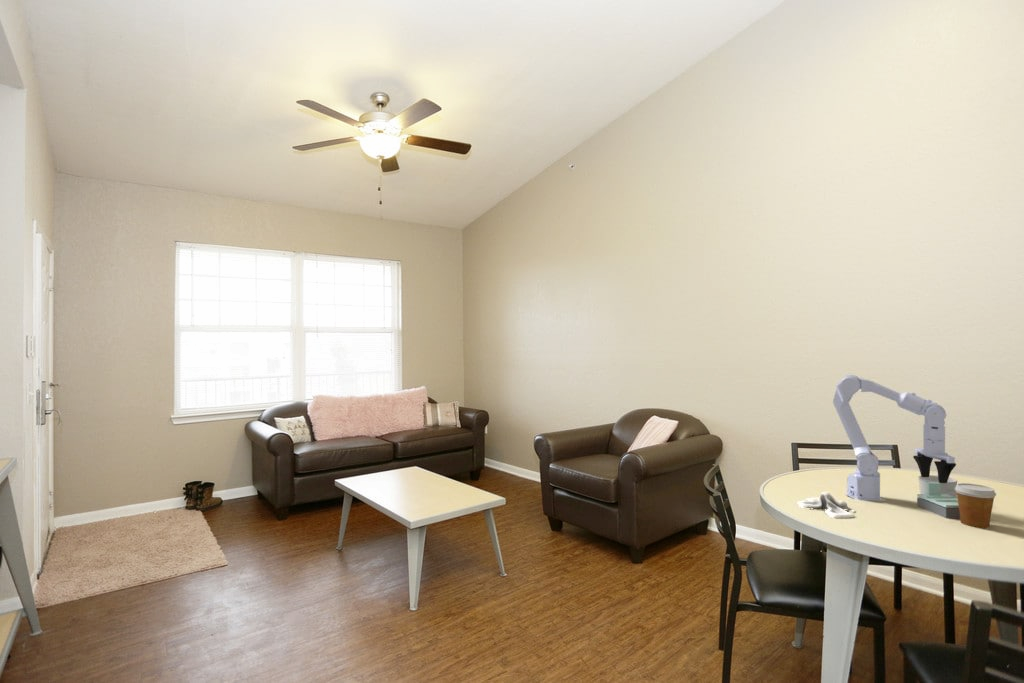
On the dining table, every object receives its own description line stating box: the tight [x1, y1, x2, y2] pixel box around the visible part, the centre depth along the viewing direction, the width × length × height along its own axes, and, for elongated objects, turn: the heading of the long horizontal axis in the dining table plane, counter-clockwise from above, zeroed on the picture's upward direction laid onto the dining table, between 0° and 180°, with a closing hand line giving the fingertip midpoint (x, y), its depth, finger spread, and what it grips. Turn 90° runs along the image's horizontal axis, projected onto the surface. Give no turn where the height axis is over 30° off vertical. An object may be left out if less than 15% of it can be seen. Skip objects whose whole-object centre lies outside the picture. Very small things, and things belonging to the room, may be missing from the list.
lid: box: [916, 482, 959, 508], centre depth 173 cm, size 12×10×5 cm
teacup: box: [917, 474, 958, 497], centre depth 188 cm, size 14×11×8 cm
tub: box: [916, 496, 960, 519], centre depth 173 cm, size 12×10×4 cm
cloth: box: [796, 491, 857, 519], centre depth 178 cm, size 22×19×6 cm
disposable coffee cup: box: [955, 482, 997, 529], centre depth 161 cm, size 10×10×12 cm
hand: (933, 479), depth 178 cm, fingers open, 7 cm apart
